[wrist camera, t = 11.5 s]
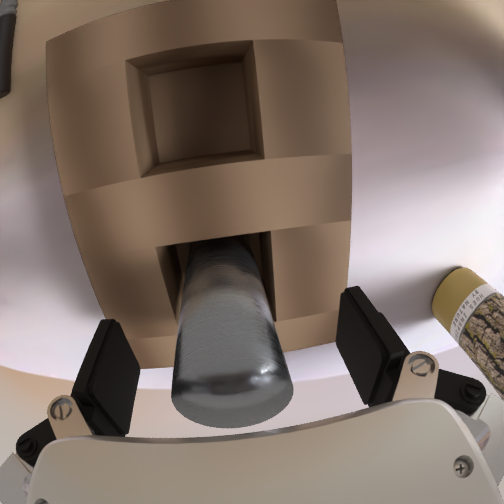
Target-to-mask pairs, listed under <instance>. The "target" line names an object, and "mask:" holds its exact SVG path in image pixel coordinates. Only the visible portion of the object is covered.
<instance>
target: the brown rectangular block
mask: <svg viewBox="0 0 504 504" xmlns="http://www.w3.org/2000/svg"><path fill="white" fill-rule="evenodd" d="M46 79H47V96H48V108H49V117H50V125H51V133H52V140H53V146H54V152H55V158H56V163H57V168H58V173H59V178H60V183H61V187H62V191H63V196H64V200H65V204H66V207H67V211H68V215H69V219H70V222H71V226H72V229H73V232H74V236H75V239H76V242H77V245H78V248H79V251H80V254H81V257H82V260H83V263H84V266H85V268H86V271H87V274H88V277H89V279H90V282H91V284H92V287H93V290H94V292H95V295H96V297H97V299H98V302H99V304H100V307H101V309H102V311H103V313H104V316H105V318H106V319H115V320H116V322H119V323H120V325H121V327H122V329H123V332H124V334H125V336H126V338H127V340H128V342H129V344H130V347H131V349H132V351H133V353H134V355H135V357H136V359H137V361H138V363H139V365H140V369H149V368H165V367H174V359H175V350H176V340H177V332H178V323H179V315H180V308H181V300H182V293H183V286H184V279H185V273H186V266H187V260H188V254H189V248H190V242H192V241H199V240H206V239H213V238H220V237H227V236H234V235H242V234H247V235H248V238H249V241H250V244H251V248H252V251H253V254H254V258H255V261H256V264H257V268H258V271H259V274H260V278H261V281H262V284H263V288H264V291H265V294H266V298H267V301H268V304H269V308H270V311H271V314H272V318H273V321H274V324H275V327H276V331H277V334H278V337H279V341H280V344H281V347H282V351H283V352H289V351H294V350H299V349H304V348H309V347H314V346H318V345H323V344H327V343H332V342H336V332H337V324H338V315H339V305H340V295H341V293H342V292H344V290H345V288H347V279H348V267H349V253H350V235H351V208H352V152H351V125H350V108H349V95H348V83H347V73H346V64H345V55H344V47H343V40H342V33H341V27H340V21H339V15H338V9H337V4H336V0H170V1H164V2H160V3H155V4H151V5H146V6H142V7H138V8H135V9H131V10H127V11H124V12H120V13H117V14H114V15H111V16H108V17H105V18H102V19H99V20H96V21H93V22H91V23H88V24H86V25H83V26H80V27H78V28H76V29H73V30H71V31H68V32H66V33H64V34H62V35H60V36H57V37H55V38H53V39H51V40H49V41H47V42H46Z"/></svg>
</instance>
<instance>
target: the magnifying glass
mask: <svg viewBox="0 0 504 504" xmlns="http://www.w3.org/2000/svg"><path fill="white" fill-rule="evenodd" d="M17 6H18V3H17V0H1V3H0V98H2V97H4V96H6V95H7V94H9V93H10V83H11V60H12V47H13V38H14V30H15V23H16V15H15V14H16V12H17V11H16V8H17Z"/></svg>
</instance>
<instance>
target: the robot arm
mask: <svg viewBox="0 0 504 504" xmlns="http://www.w3.org/2000/svg"><path fill="white" fill-rule="evenodd" d="M336 345H337V348H338V350H339V352H340V354H341V356H342V358H343V360H344V362H345V364H346V367H347V369H348V371H349V373H350V375H351V377H352V379H353V381H354V384H355V386H356V388H357V390H358V392H359V395H360V397H361V399H362V401H363V403H364V404H365V405H366V404H368V406H369V408H366V409H362V410H359V411H355V412H351V413H347V414H344V415H340V416H336V417H332V418H328V419H324V420H319V421H315V422H310V423H306V424H301V425H296V426H291V427H285V428H279V429H274V430H267V431H260V432H253V433H244V434H235V435H225V436H213V437H197V438H134V437H125V435H126V434H128V433H129V429H130V422H131V417H132V411H133V405H134V400H135V395H136V390H137V385H138V380H139V375H140V365H139V363H138V361H137V359H136V357H135V355H134V353H133V351H132V349H131V347H130V344H129V342H128V340H127V338H126V336H125V334H124V332H123V329H122V327H121V325H120V323H119V322H116V320H115V319H102V320H101V321H100V323H99V325H98V328H97V330H96V332H95V334H94V337H93V339H92V341H91V343H90V346H89V348H88V351H87V353H86V355H85V358H84V360H83V363H82V365H81V368H80V370H79V373H78V375H77V378H76V381H75V383H74V386H73V389H72V393H71V396H67V395H61V396H59V397H56V398H55V399H54V400H52V402H51V403H50V404H49V406H48V410H47V414H48V418H47V419H46V420H44V421H43V422H41V423H39V424H38V425H36V426H35V427H33V428H32V429H30V430H29V431H27V432H26V433H24V434H23V435H21V436H20V437H19V439H18V441H17V443H16V452H17V453H16V454H14V453H12V454H11V455H10V456H9V457H8V459H7V460H6V461H5V462H4V463H3V464H2V466H1V467H0V501H1V502H2V504H504V502H503V499H502V497H501V494H500V491H499V489H498V485H499V483H500V481H501V479H502V477H503V476H504V401H503V400H502V399H500V398H498V397H497V396H495V395H493V394H490V396H489V395H487V394H486V390H485V387H484V386H483V384H482V383H481V382H480V381H478V380H476V379H474V378H470V377H467V376H463V375H459V374H456V373H452V372H449V371H445V370H442V369H439V364H438V361H437V360H436V358H435V357H434V356H433V355H431V354H430V353H427V352H423V351H416V352H412V353H410V352H409V350H408V349H407V348H406V346H405V345H404V343H403V342H402V340H401V339H400V338H399V336H398V335H397V333H396V332H395V330H394V329H393V328H392V326H391V325H390V324H389V322H388V321H387V319H386V318H385V317H384V315H383V314H382V313H380V312H378V311H377V310H376V309H375V307H374V306H373V304H372V303H371V302H370V300H369V299H368V298H367V296H366V295H365V294H364V292H363V291H362V290H361V288H360V287H359V286H355V287H349V288H345V290H344V292H342V293H341V295H340V305H339V315H338V324H337V332H336Z"/></svg>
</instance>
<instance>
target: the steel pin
mask: <svg viewBox="0 0 504 504" xmlns="http://www.w3.org/2000/svg"><path fill="white" fill-rule="evenodd" d="M292 396H293V384H292V381H291V377H290V374H289V371H288V367H287V364H286V361H285V357H284V354H283V351H282V347H281V344H280V341H279V337H278V334H277V331H276V327H275V324H274V321H273V318H272V314H271V311H270V308H269V304H268V301H267V298H266V294H265V291H264V288H263V284H262V281H261V278H260V274H259V271H258V268H257V264H256V261H255V258H254V254H253V251H252V248H251V244H250V241H249V238H248V235H247V234H242V235H234V236H227V237H220V238H213V239H206V240H199V241H192V242H190V248H189V254H188V260H187V266H186V273H185V279H184V286H183V293H182V300H181V308H180V315H179V323H178V332H177V340H176V350H175V359H174V369H173V380H172V392H171V398H172V402H173V404H174V406H175V408H176V409H177V410H178V411H179V412H180V413H181V414H182V415H183V416H184V417H186V418H188V419H189V420H192V421H194V422H196V423H199V424H202V425H205V426H210V427H216V428H240V427H246V426H251V425H255V424H258V423H261V422H263V421H266V420H268V419H270V418H272V417H274V416H275V415H277V414H278V413H280V412H281V411H282V410H283V409H284V408H285V407H286V406H287V405H288V404H289V402H290V400H291V399H292Z"/></svg>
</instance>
